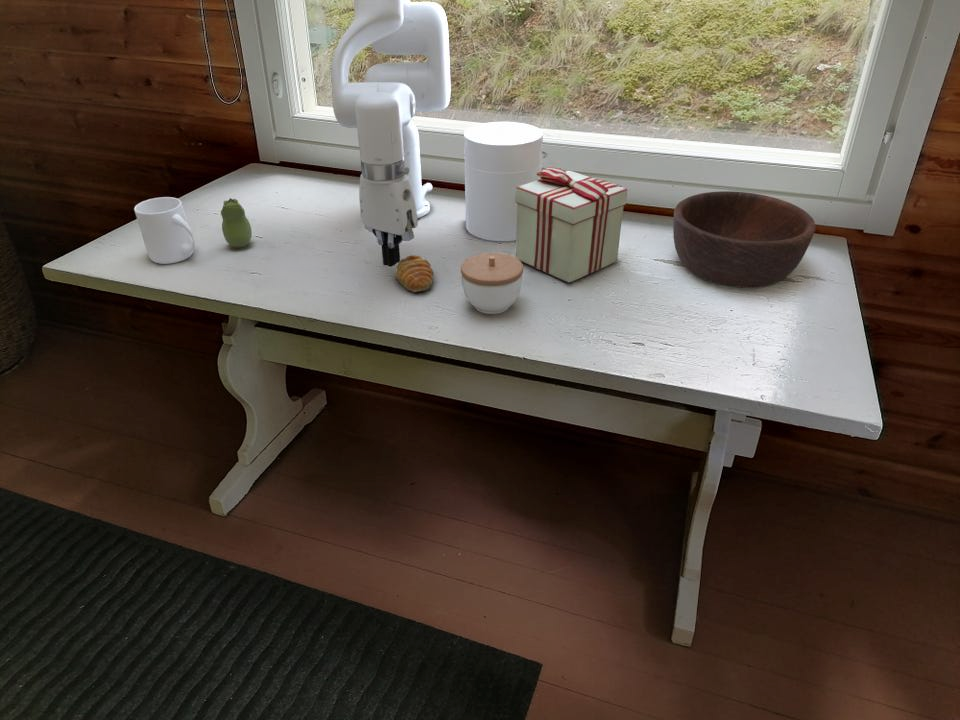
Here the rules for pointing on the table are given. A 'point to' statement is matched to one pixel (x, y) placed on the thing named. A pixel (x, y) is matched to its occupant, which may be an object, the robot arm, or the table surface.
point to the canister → (498, 175)
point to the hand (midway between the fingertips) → (391, 263)
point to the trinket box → (492, 281)
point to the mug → (165, 230)
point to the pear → (235, 224)
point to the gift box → (568, 223)
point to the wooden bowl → (740, 237)
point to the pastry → (415, 273)
